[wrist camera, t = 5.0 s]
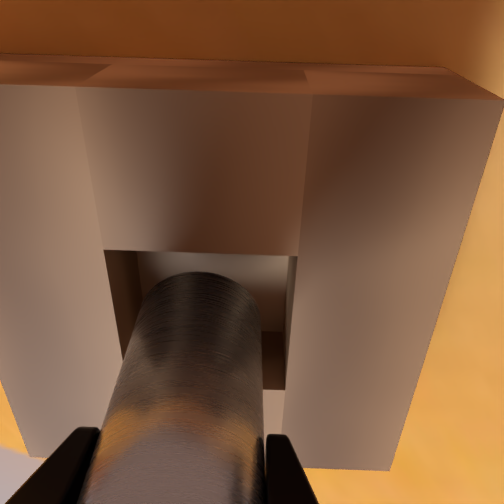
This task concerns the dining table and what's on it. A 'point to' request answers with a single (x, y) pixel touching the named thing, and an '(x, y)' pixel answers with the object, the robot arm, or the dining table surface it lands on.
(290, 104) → the bore block
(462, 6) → the dining table surface
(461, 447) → the dining table surface
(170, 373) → the pin
